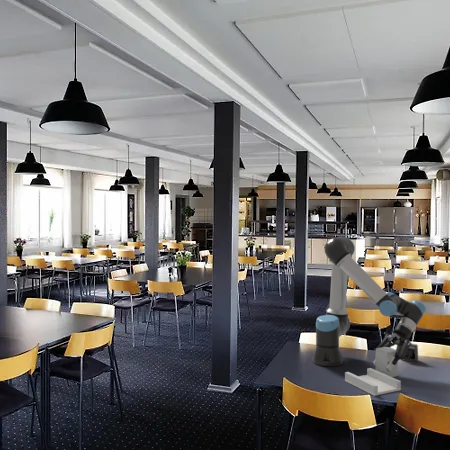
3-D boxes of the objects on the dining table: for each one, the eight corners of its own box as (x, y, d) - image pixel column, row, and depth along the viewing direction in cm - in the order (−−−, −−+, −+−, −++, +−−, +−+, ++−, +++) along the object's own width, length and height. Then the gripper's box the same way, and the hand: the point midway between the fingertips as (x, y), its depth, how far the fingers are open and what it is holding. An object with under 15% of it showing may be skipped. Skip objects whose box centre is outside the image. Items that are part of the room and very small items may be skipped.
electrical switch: (418, 360, 241) (418, 343, 240) (416, 364, 237) (416, 346, 236) (400, 357, 246) (399, 340, 245) (397, 361, 242) (397, 344, 241)
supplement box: (386, 379, 214) (386, 352, 213) (374, 374, 220) (375, 347, 220) (398, 376, 217) (398, 350, 217) (386, 371, 224) (386, 346, 223)
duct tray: (345, 381, 211) (345, 372, 211) (370, 376, 217) (370, 367, 217) (374, 395, 194) (374, 386, 194) (400, 390, 200) (400, 381, 200)
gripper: (426, 338, 217) (402, 378, 209) (391, 329, 235) (369, 365, 227) (419, 328, 214) (395, 368, 207) (384, 319, 232) (361, 356, 224)
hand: (381, 366), depth 217 cm, fingers closed on supplement box, 7 cm apart
